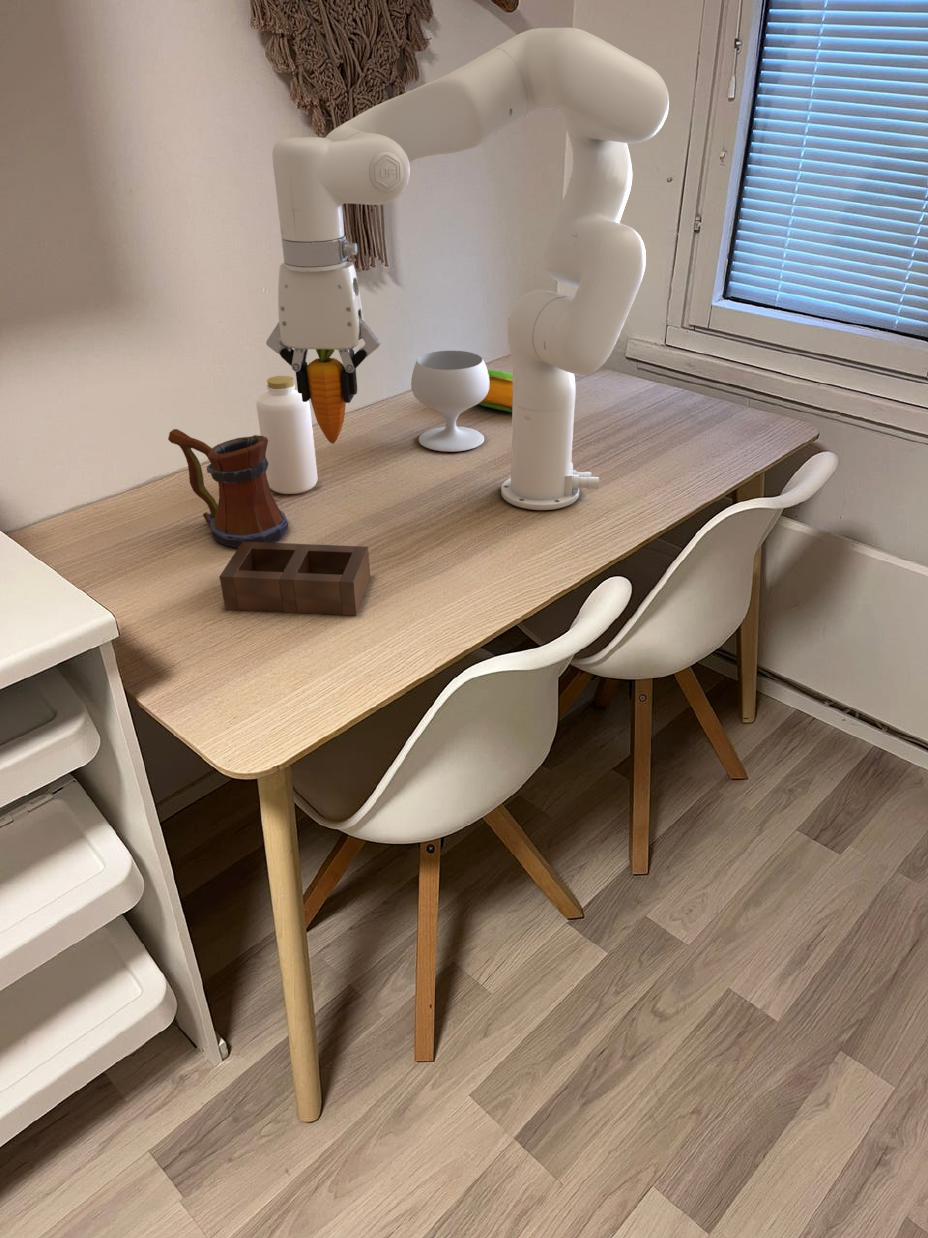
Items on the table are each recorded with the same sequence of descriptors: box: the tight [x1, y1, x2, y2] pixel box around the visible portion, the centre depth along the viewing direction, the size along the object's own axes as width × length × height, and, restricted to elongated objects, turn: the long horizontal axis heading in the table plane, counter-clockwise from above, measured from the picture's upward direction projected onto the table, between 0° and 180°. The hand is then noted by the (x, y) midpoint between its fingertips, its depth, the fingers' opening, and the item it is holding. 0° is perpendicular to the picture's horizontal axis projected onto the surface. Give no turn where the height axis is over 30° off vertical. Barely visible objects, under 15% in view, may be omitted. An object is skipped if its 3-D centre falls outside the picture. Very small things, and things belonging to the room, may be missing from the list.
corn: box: [477, 368, 513, 413], centre depth 178 cm, size 7×8×20 cm
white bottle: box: [256, 375, 319, 495], centre depth 145 cm, size 8×8×18 cm
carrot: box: [307, 349, 347, 445], centre depth 118 cm, size 5×5×15 cm
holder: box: [219, 542, 371, 617], centre depth 119 cm, size 17×10×5 cm, turn 84°
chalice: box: [410, 350, 490, 452], centre depth 162 cm, size 14×14×15 cm
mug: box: [167, 428, 289, 549], centre depth 133 cm, size 18×12×15 cm, turn 63°
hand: (328, 397), depth 119 cm, fingers closed on carrot, 4 cm apart
